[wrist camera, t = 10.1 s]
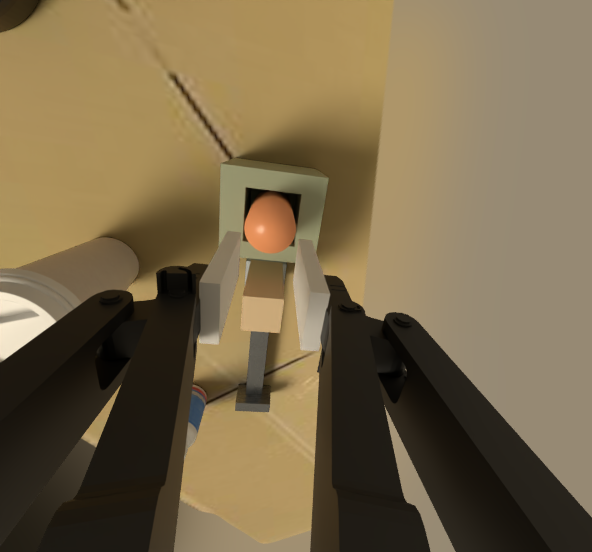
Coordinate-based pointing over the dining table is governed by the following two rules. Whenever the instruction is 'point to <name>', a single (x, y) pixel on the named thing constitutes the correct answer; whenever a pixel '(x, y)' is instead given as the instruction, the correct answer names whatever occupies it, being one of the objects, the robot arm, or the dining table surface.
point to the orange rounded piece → (270, 222)
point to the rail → (255, 377)
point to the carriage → (263, 295)
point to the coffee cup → (59, 287)
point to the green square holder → (277, 177)
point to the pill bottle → (195, 414)
